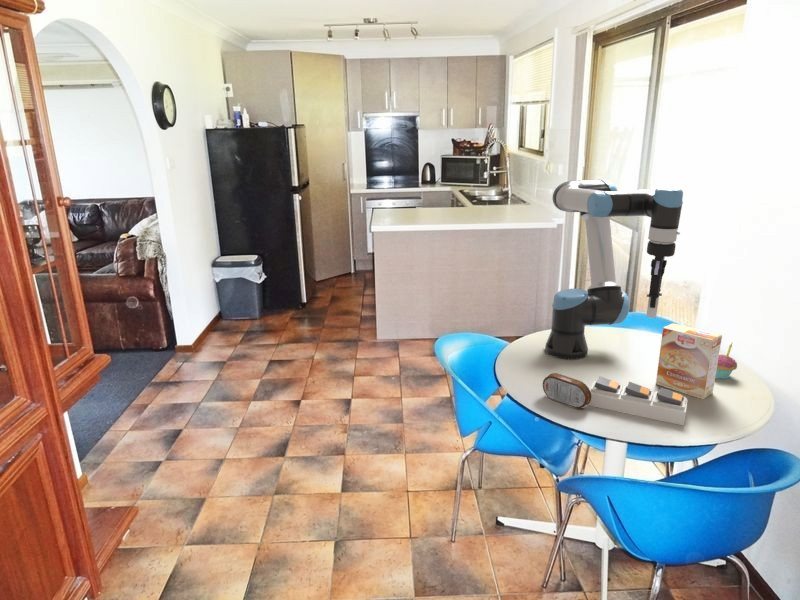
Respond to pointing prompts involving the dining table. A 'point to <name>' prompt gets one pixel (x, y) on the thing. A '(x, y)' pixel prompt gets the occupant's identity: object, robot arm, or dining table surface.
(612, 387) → the rocker left
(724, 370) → the cupcake
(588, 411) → the dining table surface
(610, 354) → the dining table surface
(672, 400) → the rocker right
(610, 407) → the rocker switch box
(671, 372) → the coffeecake box
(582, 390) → the tin
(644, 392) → the rocker middle
